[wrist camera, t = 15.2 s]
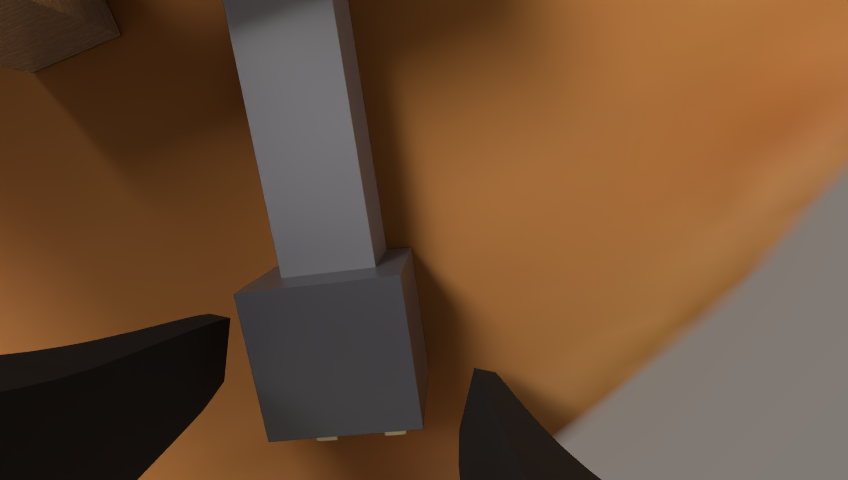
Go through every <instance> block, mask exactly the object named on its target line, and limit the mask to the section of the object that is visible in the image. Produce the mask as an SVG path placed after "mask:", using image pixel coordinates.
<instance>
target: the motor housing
mask: <svg viewBox="0 0 848 480" xmlns="http://www.w3.org/2000/svg"><path fill="white" fill-rule="evenodd" d="M118 36H121V33H120V31H119V29H118V27H117V24H116V22H115V20H114V17H113V15H112V13H111V11H110V8H109V6H108V4H107V2H106V0H0V66H2V67H7V68H12V69H17V70H21V71H26V72H31V73H33V72H35V71H38V70H40V69H42V68H45V67H47V66H50V65H52V64H54V63H57V62H59V61H61V60H64V59H66V58H68V57H71V56H73V55H76V54H78V53H80V52H83V51H85V50H87V49H90V48H92V47H95V46H97V45H99V44H102V43H104V42H106V41H109V40H111V39H113V38H116V37H118Z"/></svg>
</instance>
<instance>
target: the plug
mask: <svg viewBox="0 0 848 480" xmlns="http://www.w3.org/2000/svg"><path fill="white" fill-rule="evenodd" d="M223 4H224V9H225V14H226V18H227V23H228V28H229V33H230V37H231V42H232V47H233V52H234V56H235V61H236V66H237V71H238V75H239V80H240V85H241V89H242V94H243V99H244V104H245V108H246V113H247V118H248V123H249V127H250V132H251V137H252V142H253V146H254V151H255V156H256V161H257V165H258V170H259V175H260V180H261V184H262V189H263V194H264V199H265V203H266V208H267V213H268V218H269V222H270V227H271V232H272V236H273V241H274V246H275V251H276V255H277V260H278V265H279V266H277V267H275V268H274V269H272V270H271V271H269V272H268V273H266V274H264V275H263V276H261V277H260V278H258V279H257V280H255V281H253V282H252V283H250V284H249V285H247V286H246V287H244V288H242V289H241V290H239V291H238V292H236V293H235V294H234V298H235V302H236V306H237V310H238V315H239V319H240V323H241V327H242V332H243V336H244V340H245V344H246V348H247V353H248V357H249V361H250V365H251V370H252V374H253V378H254V382H255V386H256V391H257V395H258V399H259V403H260V408H261V412H262V416H263V420H264V424H265V429H266V433H267V437H268V441H269V442H276V441H288V440H300V439H312V438H317V441H329V440H338V437H339V436H348V435H360V434H372V433H384V432H385V436H390V435H402V434H406V431H409V430H421V429H423V428H424V416H425V404H426V392H427V380H428V368H429V367H428V360H427V353H426V346H425V339H424V332H423V325H422V318H421V311H420V304H419V298H418V291H417V284H416V277H415V270H414V263H413V256H412V249H411V247H406V248H398V249H389V250H387V247H386V241H385V234H384V228H383V222H382V215H381V209H380V202H379V196H378V189H377V183H376V177H375V170H374V164H373V157H372V151H371V144H370V138H369V131H368V125H367V119H366V112H365V106H364V99H363V93H362V86H361V80H360V74H359V67H358V61H357V54H356V48H355V41H354V35H353V29H352V22H351V16H350V9H349V3H348V0H223Z"/></svg>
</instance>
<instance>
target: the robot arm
mask: <svg viewBox="0 0 848 480" xmlns="http://www.w3.org/2000/svg"><path fill="white" fill-rule="evenodd" d="M229 326H230V318H228V317H223V316H218V315H213V314H205V315H199V316H194V317H189V318H185V319H181V320H177V321H173V322H169V323H165V324H161V325H157V326H153V327H149V328H145V329H141V330H137V331H133V332H129V333H125V334H120V335H116V336H111V337H107V338H103V339H98V340H94V341H89V342H84V343H79V344H74V345H68V346H63V347H56V348H50V349H44V350H38V351H31V352H23V353H14V354H5V355H0V480H137V479H138V478H139V477H140V476H141V475H142V474H143V473H144V472H145V471H146V470H147V469H148V468H149V467H150V466H151V465H152V464H153V463H154V462H155V461H156V460H157V459H158V457H159V456H160V455H161V454H162V453H163V452H164V451H165V450H166V449H167V448H168V447H169V446H170V445H171V444H172V443H173V442H174V441H175V440H176V439H177V438H178V437H179V436H180V434H181V433H182V432H183V431H184V430H185V429H186V428H187V427H188V426H189V425H190V424H191V423H192V422H193V421H194V420H195V418H196V417H197V416H198V415H199V414H200V413H201V412H202V411H203V410H204V408H205V407H206V406H207V404H208V403H209V402H210V400H211V399H212V398H213V396H214V395H215V393H216V392H217V390H218V389H219V388H220V386H221V385H222V383H223V382H224V377H225V366H226V356H227V346H228V336H229ZM459 472H460V480H601V479H600V478H598V477H597V476H596V475H595V474H593V473H592V472H591V471H589V470H588V469H587V468H586V467H585V466H584V465H582V464H581V463H580V462H579V461H578V460H577V459H576V458H574V457H573V456H572V455H571V454H570V453H568V451H566V450H565V449H564V448H563V447H562V446H561V445H560V444H559V443H558V442H557V441H556V440H555V439H554V438H553V437H552V436H551V435H550V434H549V433H548V432H547V431H546V430H545V429H544V428H543V427H542V426H541V425H540V424H539V423H538V422H537V420H536V419H535V418H534V417H533V416H532V415H531V414H530V413H529V412H528V410H527V409H526V408H525V407H524V406H523V405H522V403H521V402H520V401H519V400H518V399H517V397H516V396H515V395H514V394H513V393H512V391H511V390H510V389H509V388H508V386H507V385H506V384H505V383H504V382H503V380H502V379H501V378H500V377H499V376H498V375H497V374H496V372H491V371H486V370H481V369H476V368H474V372H473V377H472V381H471V385H470V389H469V393H468V397H467V401H466V405H465V409H464V414H463V418H462V422H461V426H460V432H459Z"/></svg>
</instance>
